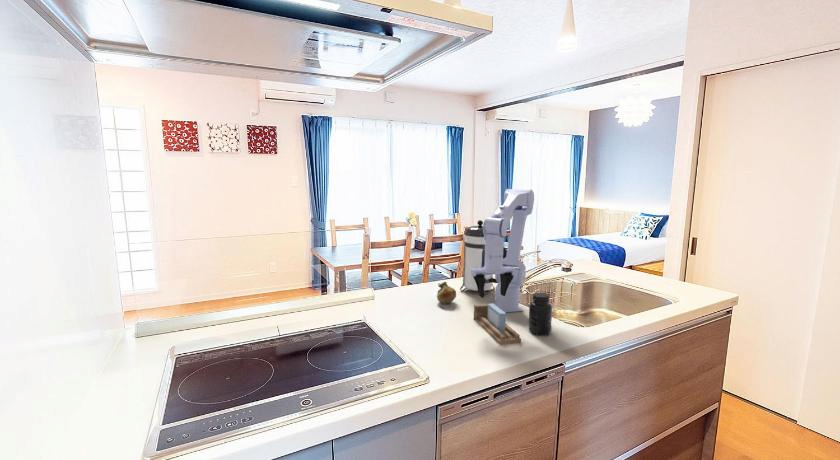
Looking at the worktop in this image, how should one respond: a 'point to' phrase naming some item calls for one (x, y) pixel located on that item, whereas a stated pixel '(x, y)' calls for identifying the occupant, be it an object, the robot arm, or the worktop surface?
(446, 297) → the onion
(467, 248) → the coffee press
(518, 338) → the door track
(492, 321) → the light blue flat block
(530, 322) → the supplement bottle
